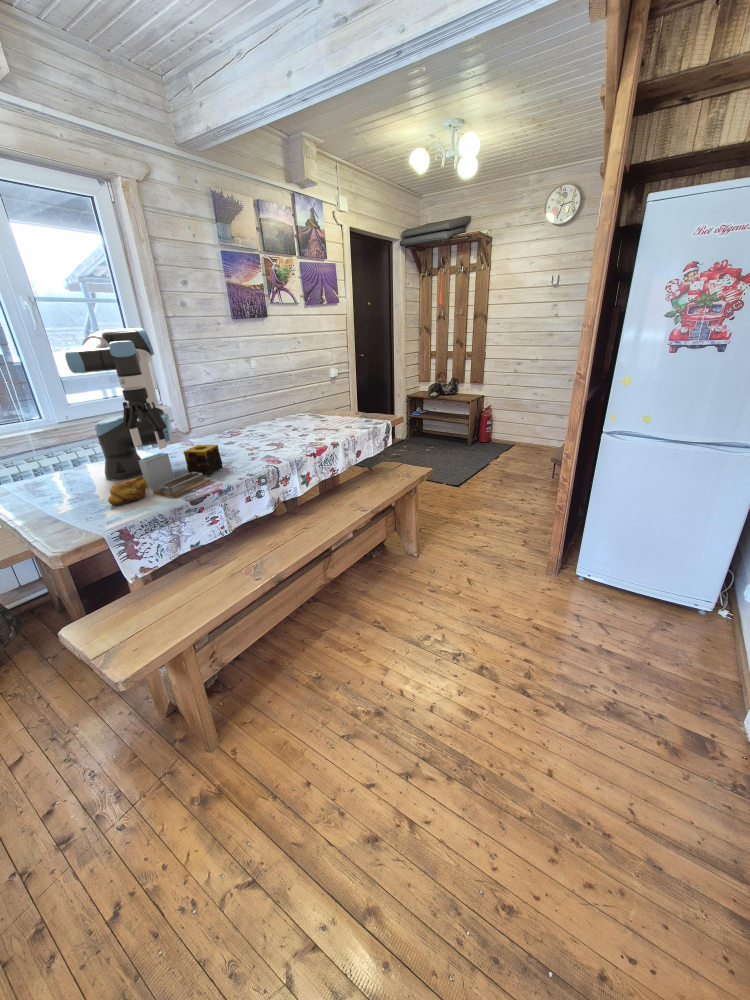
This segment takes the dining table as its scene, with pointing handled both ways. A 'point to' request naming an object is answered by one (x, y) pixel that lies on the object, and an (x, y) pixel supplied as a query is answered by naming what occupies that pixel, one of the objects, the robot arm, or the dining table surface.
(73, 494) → the dining table surface
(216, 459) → the candle
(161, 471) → the grey upright block
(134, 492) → the bread roll
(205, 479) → the track
